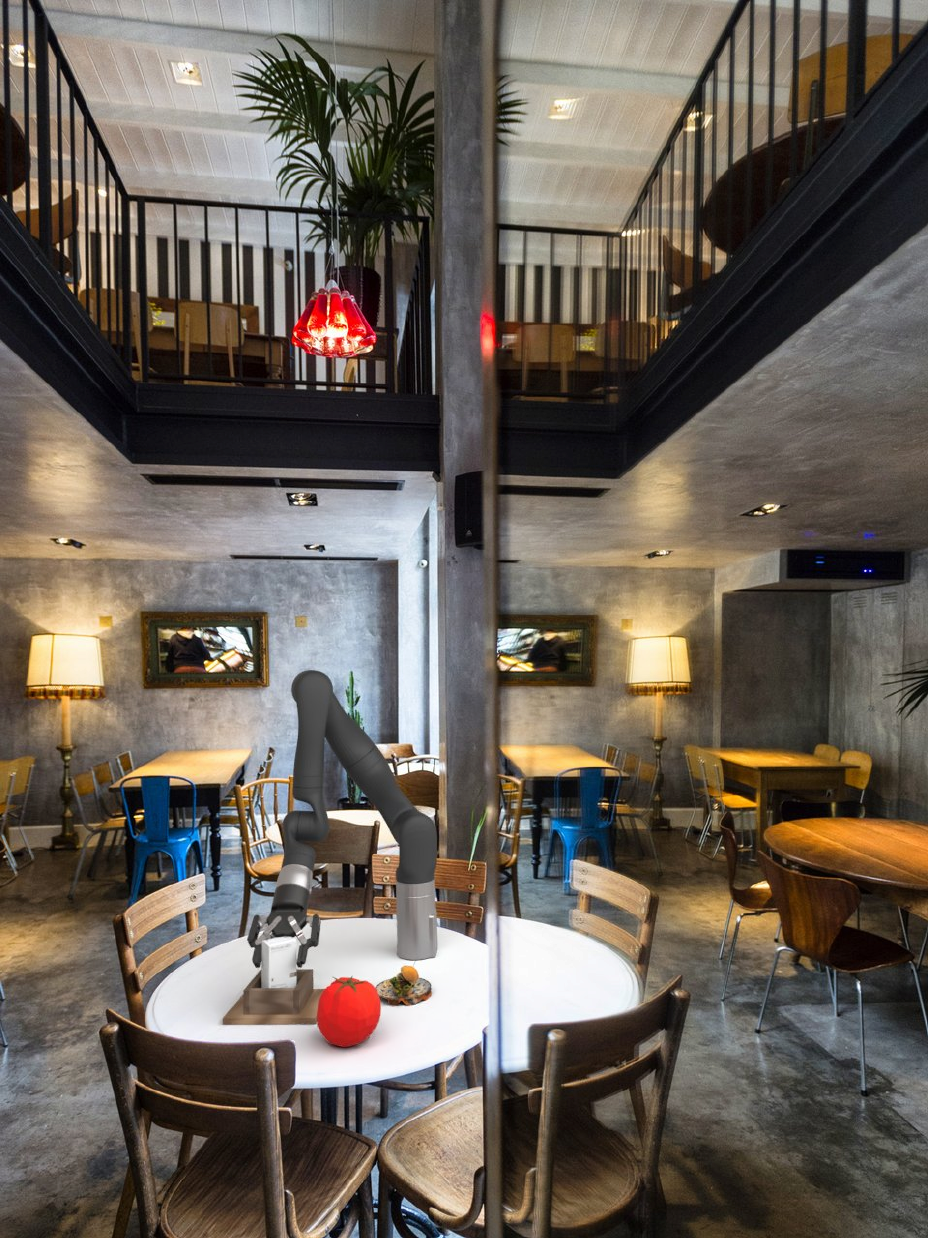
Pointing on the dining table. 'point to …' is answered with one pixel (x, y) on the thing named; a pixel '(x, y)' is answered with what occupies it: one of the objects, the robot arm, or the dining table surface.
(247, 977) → the dining table surface
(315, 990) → the sleeve stand
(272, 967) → the skincare box
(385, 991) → the plate of food
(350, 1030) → the tomato
